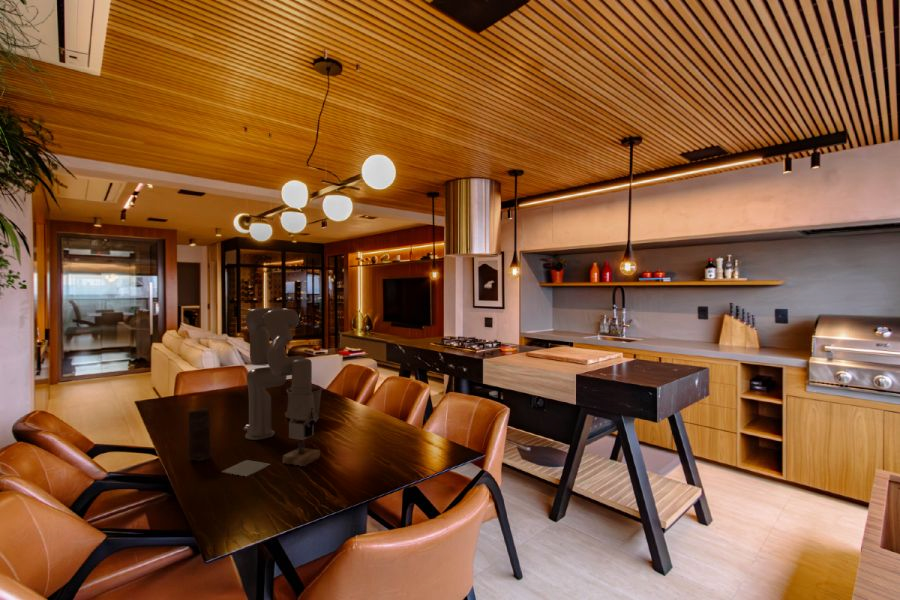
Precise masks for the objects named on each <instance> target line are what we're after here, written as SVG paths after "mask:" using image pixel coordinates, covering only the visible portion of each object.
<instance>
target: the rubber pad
mask: <svg viewBox="0 0 900 600" xmlns="http://www.w3.org/2000/svg"><path fill="white" fill-rule="evenodd" d="M269 465H270V466H271V465H272V463H267V462H263V461H262V462H261V461H257V460H256V461H255V460H248V459H246V460H243V461H240V462H239V463H237V464H234V465H232V466H230V467H227V468H226V469H223V470H221V471H220V472H221V473H222V474H226V475H227V474H228V475H232V474H233V476H237V475H239V476H238V477H243V476H245V477H244V478H248V477H250V476H252V475H254V474H256V473H258V472H260V471H262V470H263V469H266V468H268V467H270V466H269ZM267 466H268V467H267ZM251 474H252V475H251ZM249 475H250V476H249ZM247 476H248V477H247Z"/></svg>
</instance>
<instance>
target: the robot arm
mask: <svg viewBox="0 0 900 600" xmlns="http://www.w3.org/2000/svg"><path fill="white" fill-rule="evenodd" d="M299 322H300V317H299V315H298V312H296V310H294V309H292V308H285V307H261V308H252V309H250V310H248V311H247V313H246V316H245V325H246V328H247V331H248V335H249V359H250V363H251V364H252V365H254V366H263V365H268V366H265V367H257V368H252V369H251V370H249V371H248V372H247V374H246V384H247V390H248V391H247V392H248V424H246V425H245V426H244V427H243V428H242V429H243V431H246V433H245V435H244V437H245V439H246V440H251V441H252V440H253V441H256V440H257V441H259V440H266V439H269V438H271V437H273V436H275V434H276V433H275V431H274V430H273V429H272V397H271V394H270V393H269V392H268V390H267V388H273V387H275V388H276V387H280V386H284V385H285V383H287V377H288V376H291V386H289V388H290V389H291V390H292V393H290V396H289V400H288V399H287V400H288V401H287V410H286V411H285V412H284V416H285V417H286V420H287V422H288V424H289V423H290V422H292V421H295V420H302V421H305V422H306V424H307V427H306V437H308V438H310V437H312V436H313V435H312V426H313V425H315V424H316V423H317V421H318V420H319V419H320V416H319V414H318V415H317V414H316V413H315V407H314V398H313V393H312V384H313V383H312V380H313V379H312V376H313V375H312V374H313V373H312V372H313V371H312V370H313V368H312V367H313V366H312V364H313V363H312V360H311V359H310V358H306V357H305V356H303V355H295V356H287V350H286V348H285V347H286V346H287V345H288V344H290V343H291V342H292V340H293V337H294V336H293V333H292V331H291V329H293V328H296V327H297V326H298V325H299ZM312 418H314V419H312ZM309 421H310V423H309ZM311 435H312V436H311ZM309 436H310V437H309Z"/></svg>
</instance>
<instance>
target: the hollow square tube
mask: <svg viewBox="0 0 900 600" xmlns="http://www.w3.org/2000/svg"><path fill="white" fill-rule="evenodd" d="M309 423H310V421H309ZM314 425H315V424H314ZM314 425H313V426H312V435H311V436H309V437H306V427H307V424H306V422H305V421H302V420H295V421H292V422H290V423H289V422H288V439H294V440H298V441H299V440H305V439H308V438H310V437H312V436H314V431H315V429H314V427H315V426H314Z"/></svg>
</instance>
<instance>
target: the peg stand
mask: <svg viewBox="0 0 900 600" xmlns="http://www.w3.org/2000/svg"><path fill="white" fill-rule="evenodd" d="M319 457H320V458H321V450H320V449H314V448H308V447H306V440H305V439H304V440H299V439H298V447H297V448H295V449H293V450H291V451H288V452H287V453H284V454H283V455H282V464H284V463H286V465H290V464H293V465H292V466H296V465H299V466H298V467H302V466H304V467H306V466H308V465H310V464H311V463H313V462H315V461H316V459H317V460H318V459H320V458H319ZM314 460H315V461H314ZM309 463H310V464H309ZM307 464H308V465H307ZM305 465H306V466H305Z"/></svg>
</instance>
